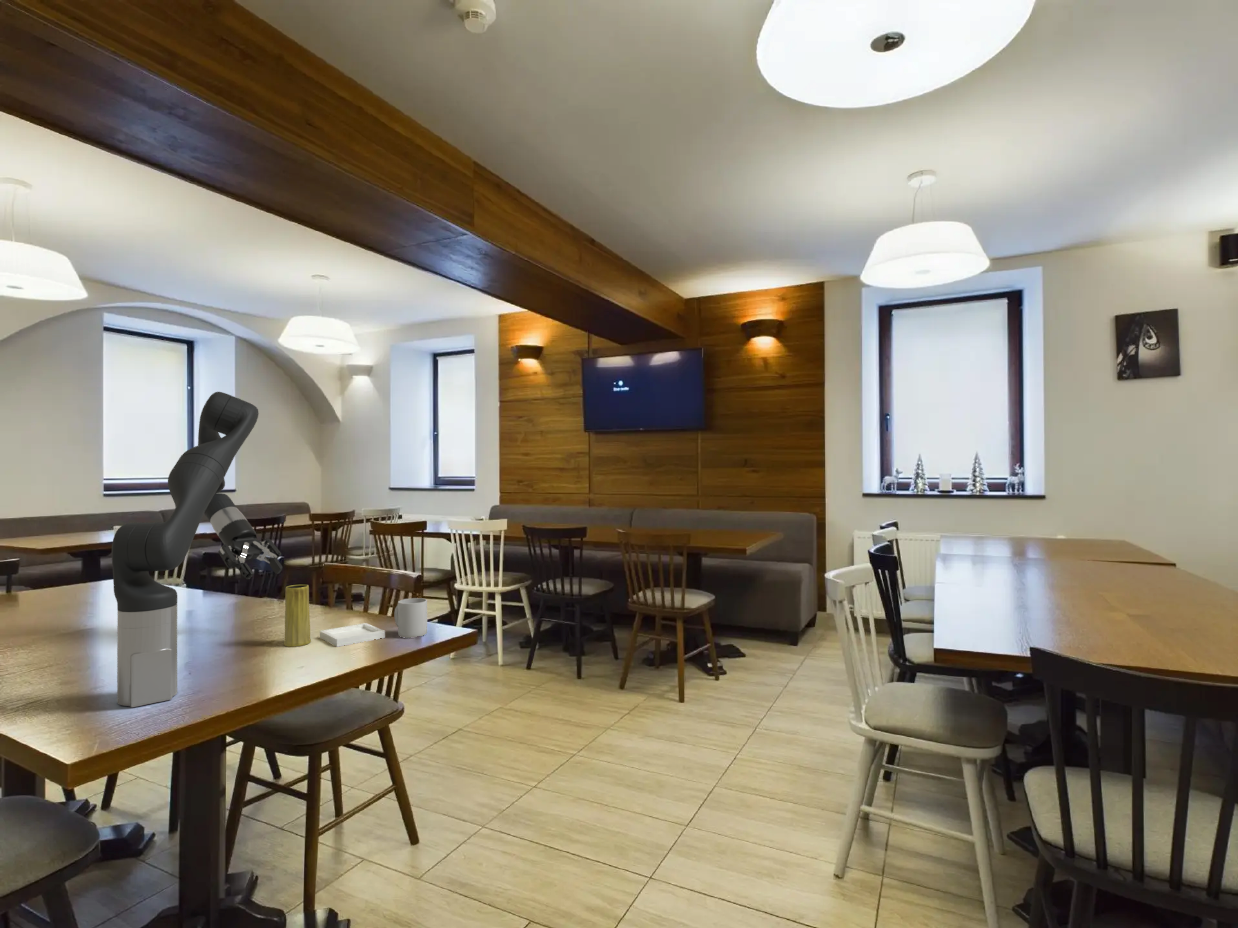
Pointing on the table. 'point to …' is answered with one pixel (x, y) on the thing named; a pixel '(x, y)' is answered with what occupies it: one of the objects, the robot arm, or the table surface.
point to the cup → (411, 617)
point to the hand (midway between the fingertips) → (265, 574)
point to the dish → (351, 634)
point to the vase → (297, 616)
